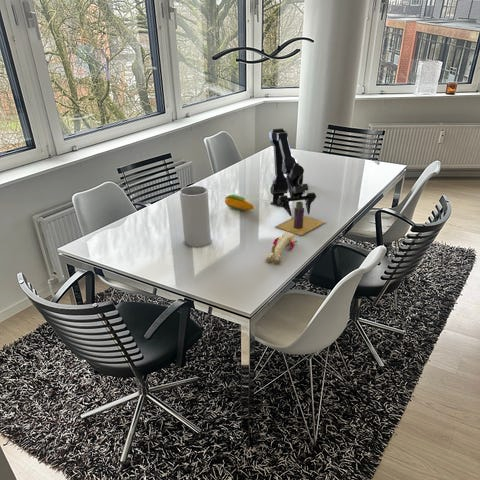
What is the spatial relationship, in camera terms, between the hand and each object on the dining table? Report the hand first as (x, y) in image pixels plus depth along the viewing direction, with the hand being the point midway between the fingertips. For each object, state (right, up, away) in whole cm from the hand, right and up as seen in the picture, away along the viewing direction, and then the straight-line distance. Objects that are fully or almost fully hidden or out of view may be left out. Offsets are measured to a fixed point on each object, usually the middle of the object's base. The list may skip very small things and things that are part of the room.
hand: (300, 215), depth 224 cm
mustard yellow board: (+1, -3, +8) cm, 8 cm away
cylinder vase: (-50, -14, -5) cm, 52 cm away
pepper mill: (0, -5, +5) cm, 7 cm away
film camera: (+4, +32, +58) cm, 66 cm away
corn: (-30, +9, +27) cm, 41 cm away
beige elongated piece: (-10, -20, -16) cm, 28 cm away
